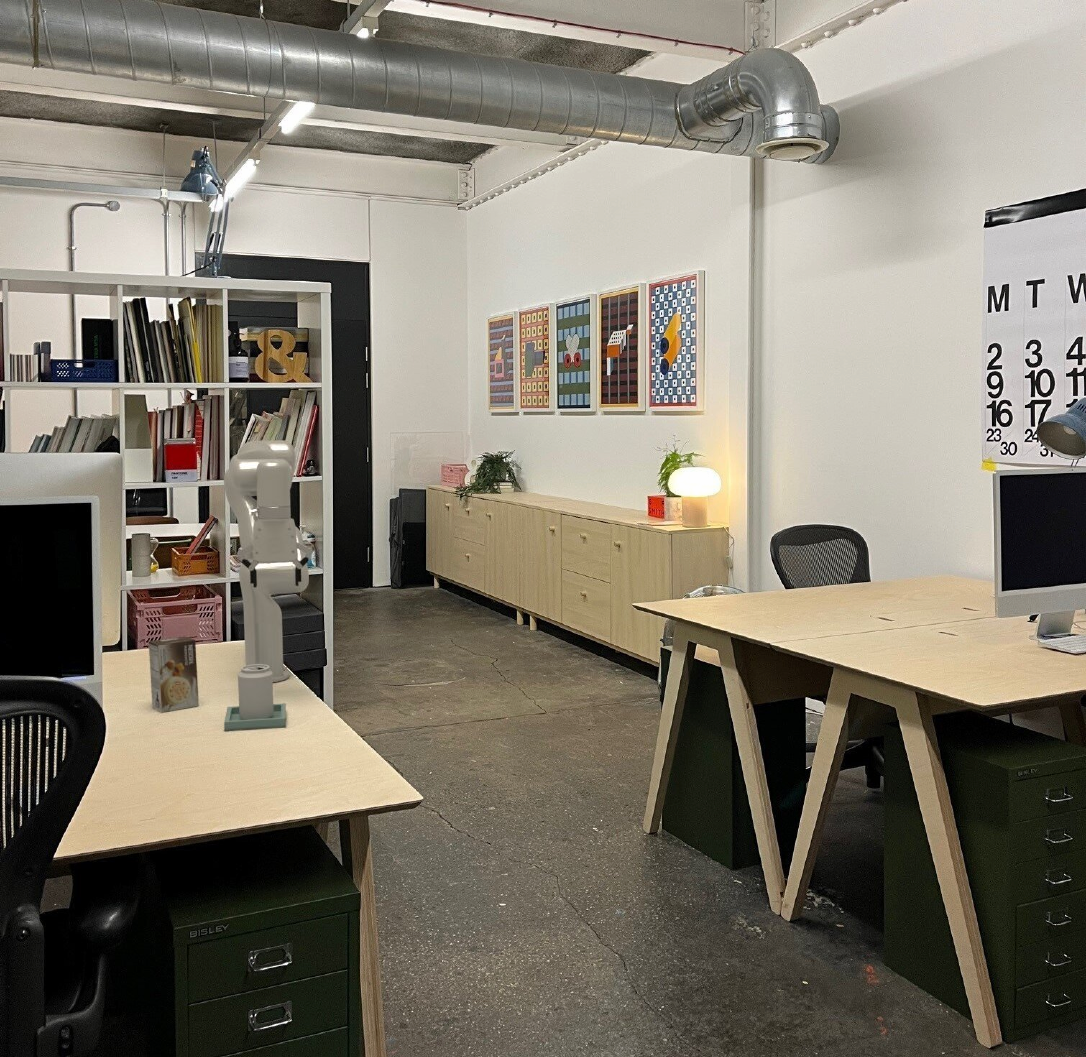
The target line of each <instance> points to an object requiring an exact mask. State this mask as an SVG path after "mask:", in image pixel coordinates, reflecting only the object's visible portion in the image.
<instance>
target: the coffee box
mask: <svg viewBox="0 0 1086 1057" xmlns="http://www.w3.org/2000/svg"><path fill="white" fill-rule="evenodd" d="M148 652H149V670H150V688H151V689H150V690H151V691H150V692H151V693H150V694H151V707H152V708H153V709H155V711H159V713H166V712H173V711H178V710H183V709H189V708H193V707H194V708H195V707H199V706H200V702H199V701H200V700H199V686H198V685H199V684H198V683H199V682H198V666H197V665H198V663H197V648H196V639H194V638H191V637H188V636H186V635H184V636H179V637H171V638H170V637H169V638H163V639H157V640H156V639H155V640H149V641H148Z"/></svg>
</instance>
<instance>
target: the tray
mask: <svg viewBox="0 0 1086 1057" xmlns="http://www.w3.org/2000/svg"><path fill="white" fill-rule="evenodd" d="M286 706H287V705H286V703H273V711H274V714H273V715H272V716H271V717H270V718H266V719H250V720H243V719H242V718H240V717H239V705H236V706H234V705H233V706H227V707H226V712H225V717H224V722H223V725H224V727H223V728H224V732H234V731H249V730H265V729H281V728H283V729H284V728H287V723H286V722H287V707H286Z"/></svg>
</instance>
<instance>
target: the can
mask: <svg viewBox="0 0 1086 1057" xmlns="http://www.w3.org/2000/svg"><path fill="white" fill-rule="evenodd" d="M240 670H241V671H240V672H239V673H238V674H237V680H238V681H237V686H238V688H237V689H238V706H239V717H240V718H242V719H243V720H250V719H266V718H270V717H271V716H272V715H273V714H274V711H273V704H274V685H273V683H274V682H273V678H272V672H271V671H270V670H269V666H268V665H264V664H253V665H247V666H246V665H244V666H242V667H240Z"/></svg>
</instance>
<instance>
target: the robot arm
mask: <svg viewBox="0 0 1086 1057" xmlns="http://www.w3.org/2000/svg"><path fill="white" fill-rule="evenodd" d="M296 457H297V456H296V451H295V449H294V446H293V445H292V444H291V443H290V442H289V441H287V440H282V439H281V440H280V439H279V440H278V439H277V440H274V439H273V440H268V439H267V440H250V441H248V442H246V443H244V444H242V446H240V448H239V450H238V452H237V454H235V455H233V456H232V457H231V459H230V462H229V467H228V469H227V470H226V471H225V473H224V478H223V484H224V485H223V486H224V493H225V495H226V498H227V499H226V500H227V502H228V504H229V506H230V509H231V511H232V512H233V514H234V515H235V519H236V521H237V527H238V536H239V543H240V544H239V545H240V548H241V549H240V550H238V551H237V553H236V554H237V557H238V558H239V560H240V561H241V565H240V567H239V569H238V577H239V583H240V584H239V585H240V589H241V596H242V604H243V625H244V653H245V654H244V659H245V661H244V662H245V666H247V665H253V664H264V665H268V666H269V670H270V671H271V672H272V678H273V683H276V682H277V683H278V682H282V681H285V680H287V679H289V677H290V671H288V670H287V669H284V649H283V648H284V645H283V642H284V640H283V616H282V615H283V614H282V609H281V607H280V606H279V604H278V603H277V602H276V601H275V599H273V598H272V595H278V594H279V595H280V594H294V593H300V592H303V591H305V590H306V589H307V587H308V586H309V581H310V580H309V579H310V578H309V576H310V574H309V567H308V563H309V560H310V558H311V557H312V555H313V551H314V550H313V549H312V548H310V547H307V546H306V545H305V544H304V541H303V534H302V533H301V530H300V529H299V528H298V527H297V526H296V524H295V520H294V518H291V515H292V514H291V488H292V484H293V479H294V473H295V469H296ZM255 496H256V499H255V498H253V497H255Z"/></svg>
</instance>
